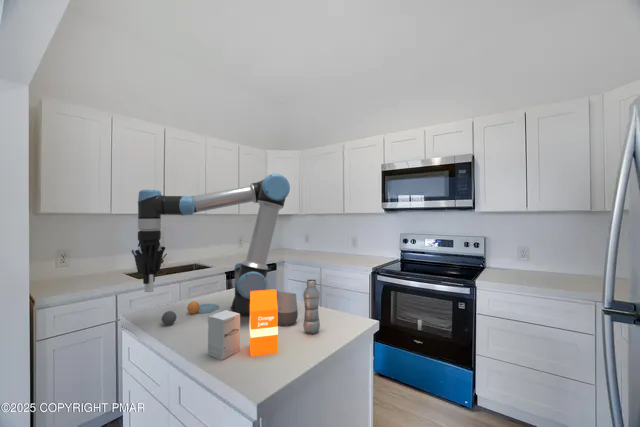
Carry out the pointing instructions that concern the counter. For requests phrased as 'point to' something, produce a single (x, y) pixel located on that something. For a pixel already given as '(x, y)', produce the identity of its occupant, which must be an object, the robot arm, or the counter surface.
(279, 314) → the smart speaker
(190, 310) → the object ball
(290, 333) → the counter surface
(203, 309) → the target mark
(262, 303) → the orange juice
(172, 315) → the dark grey ball
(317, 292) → the plastic bottle
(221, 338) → the supplement box
